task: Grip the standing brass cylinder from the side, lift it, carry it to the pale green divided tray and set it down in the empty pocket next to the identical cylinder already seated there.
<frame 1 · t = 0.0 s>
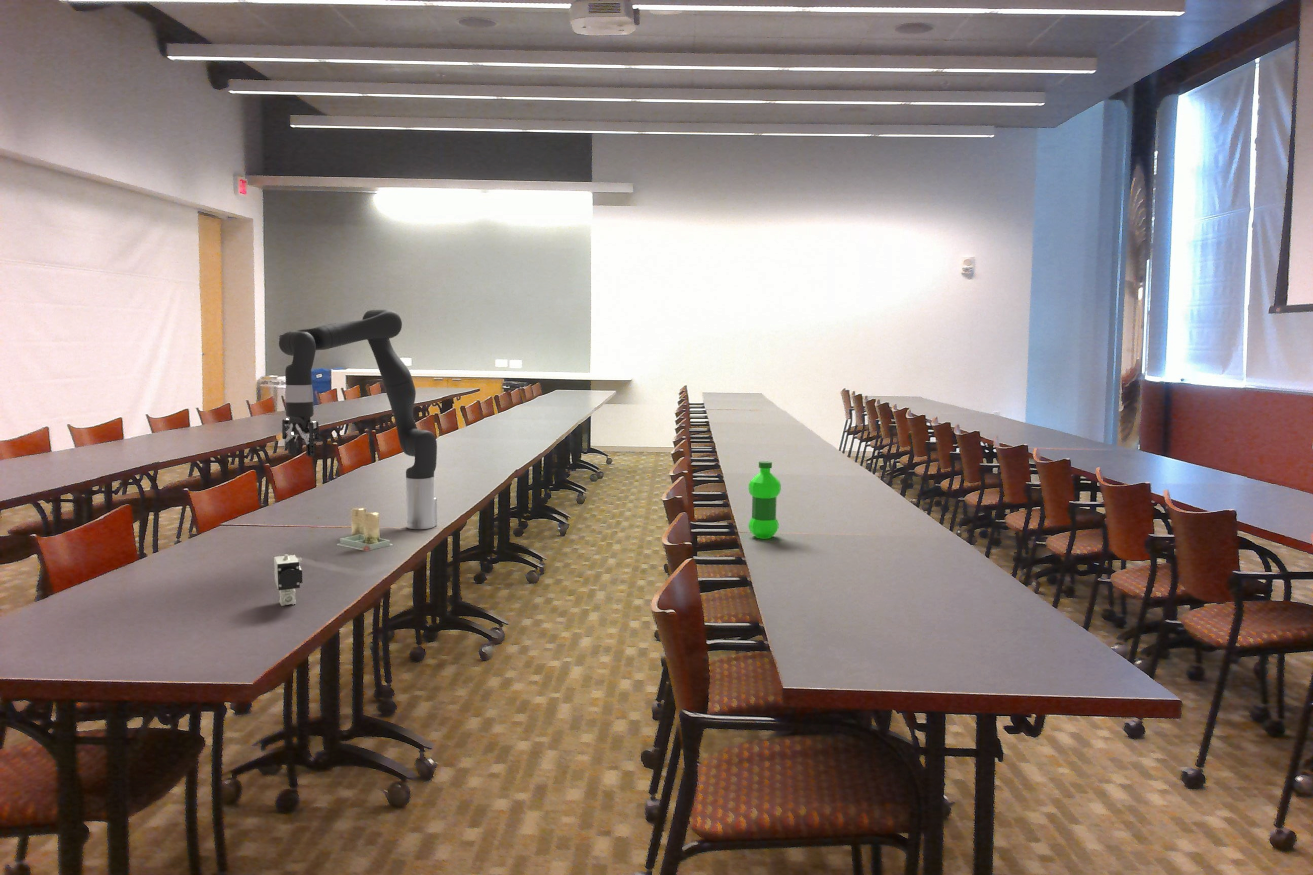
hand: (301, 455, 251), 29 cm above the table, tool pointing down, fingers open, 8 cm apart
pneumatic valve: (289, 604, 206), on the table
billet: (359, 539, 272), on the table
seated billet: (372, 545, 258), point 1 cm above the table, touching pale green divided tray
pale green divided tray: (365, 549, 260), on the table
plastic bottle: (763, 537, 283), on the table
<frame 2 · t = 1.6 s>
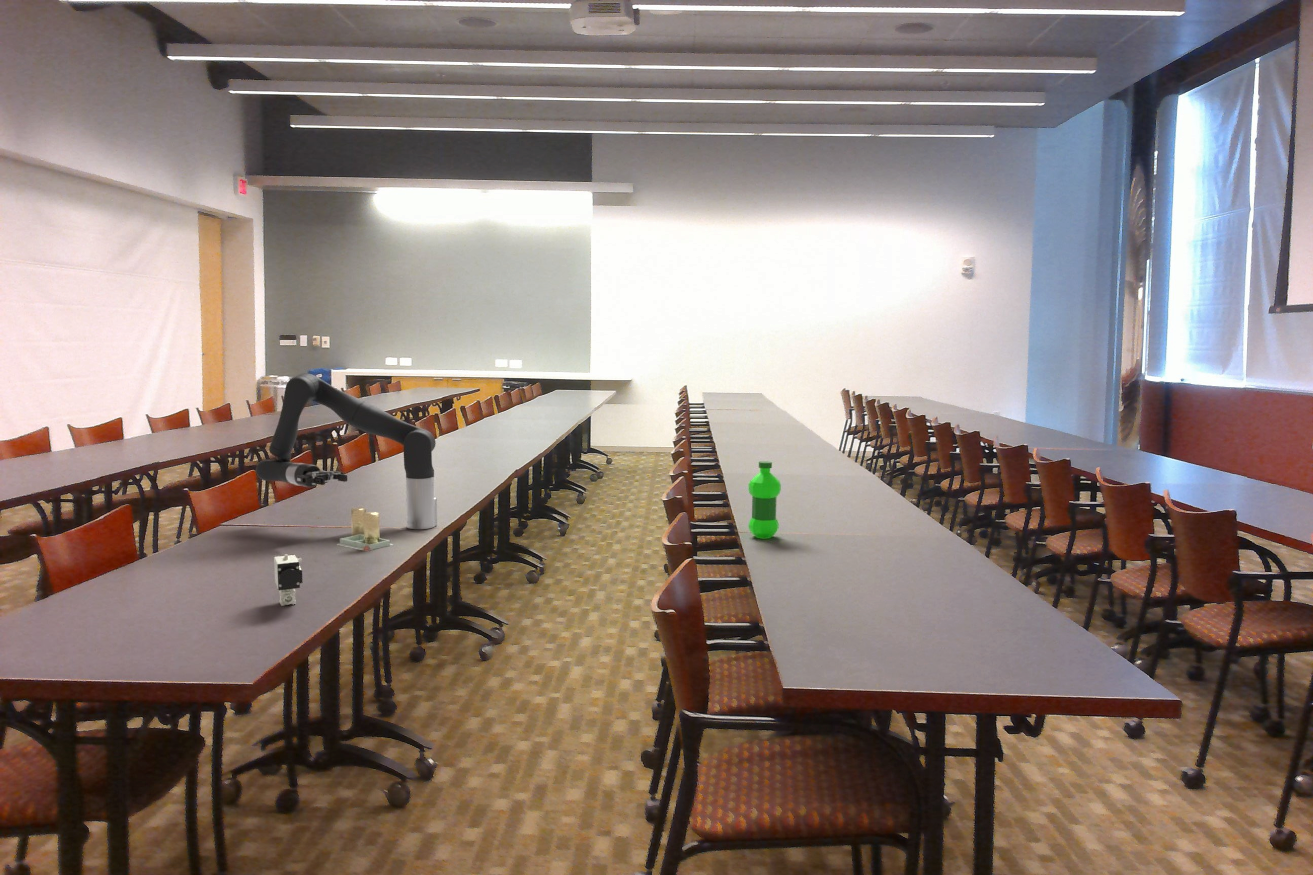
hand: (335, 480, 275), 18 cm above the table, tool horizontal, fingers open, 8 cm apart
nothing on the table moved.
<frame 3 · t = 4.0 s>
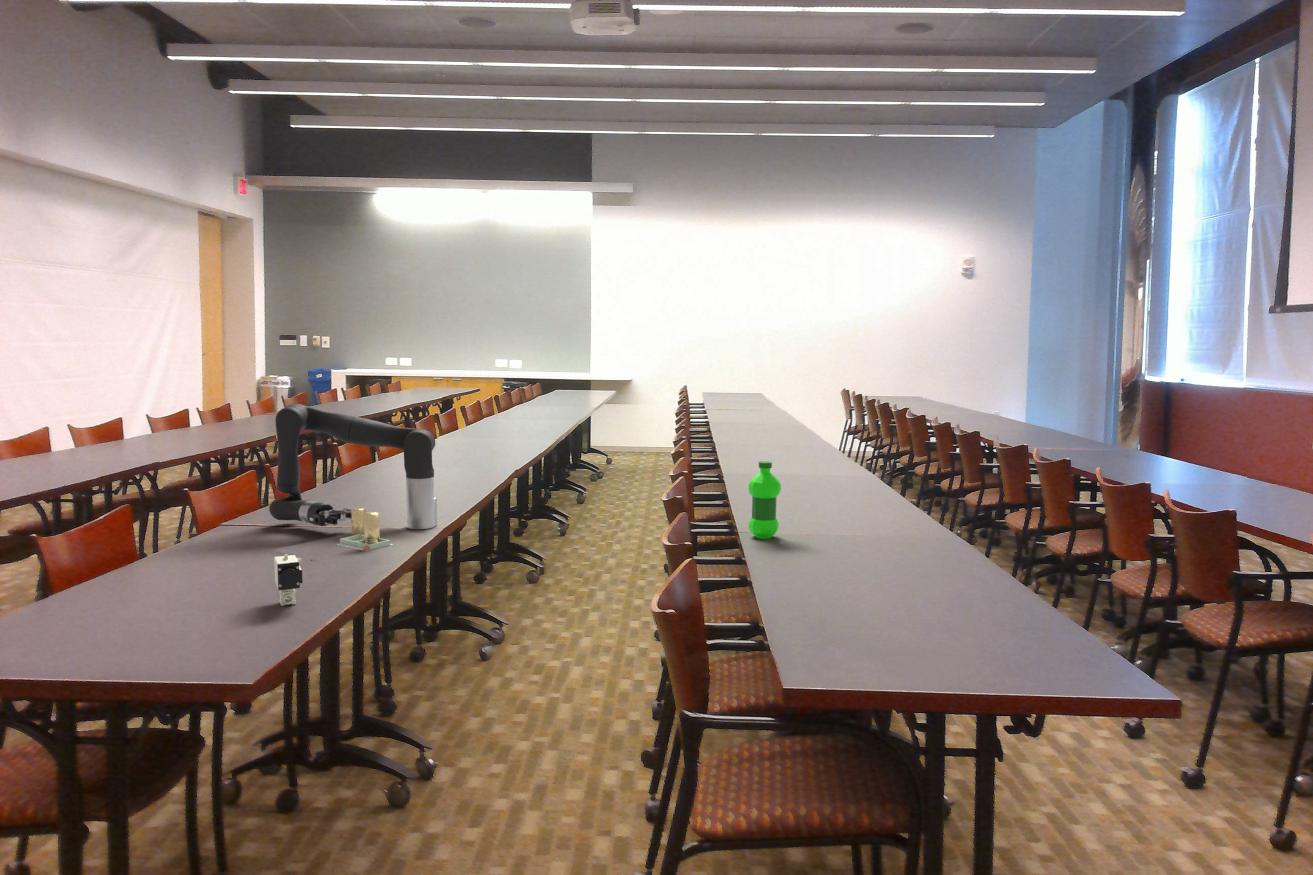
hand: (347, 519, 274), 6 cm above the table, tool horizontal, fingers open, 8 cm apart
nothing on the table moved.
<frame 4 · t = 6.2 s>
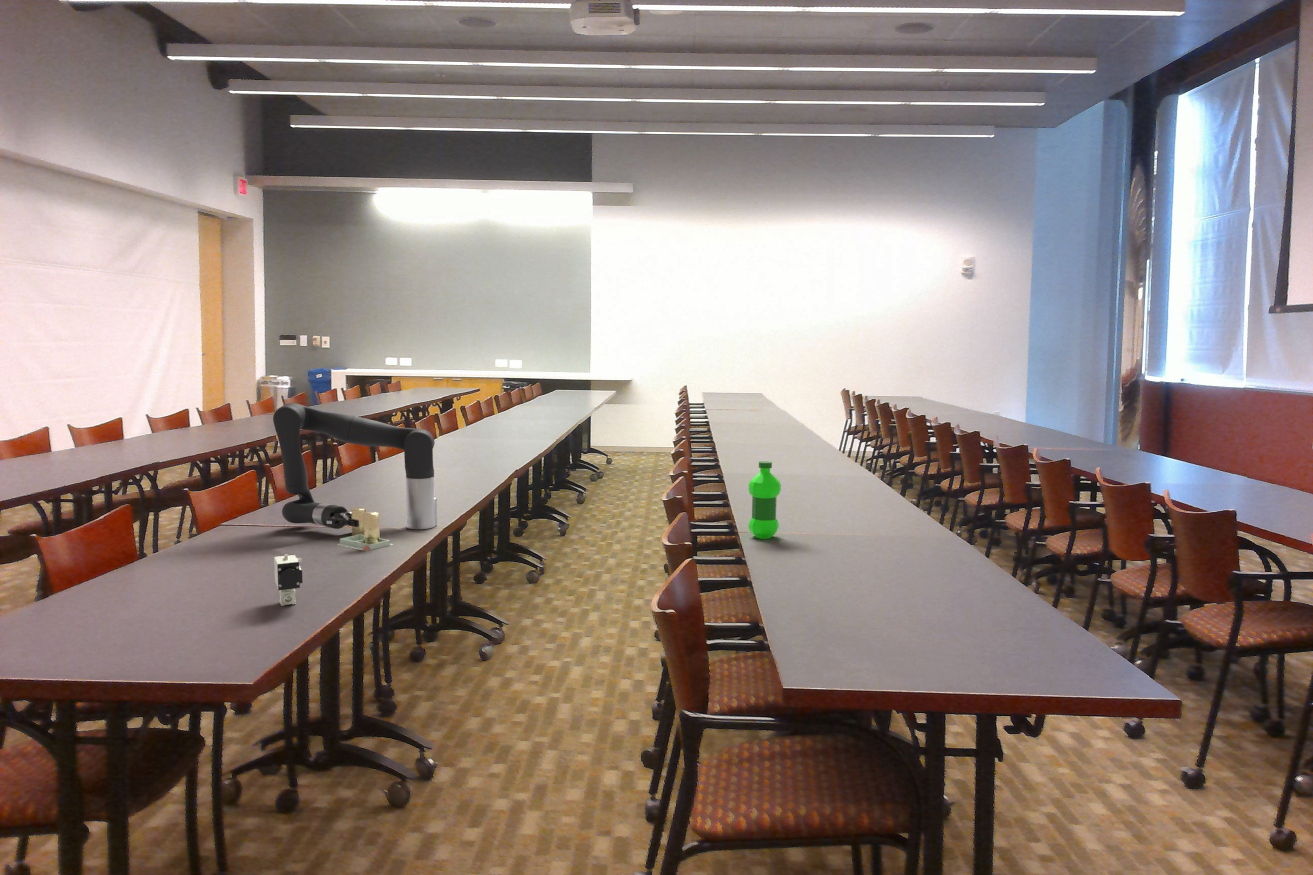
hand: (364, 522, 270), 6 cm above the table, tool horizontal, fingers closed on billet, 4 cm apart
billet: (359, 539, 272), on the table, touching gripper
everything else where it was.
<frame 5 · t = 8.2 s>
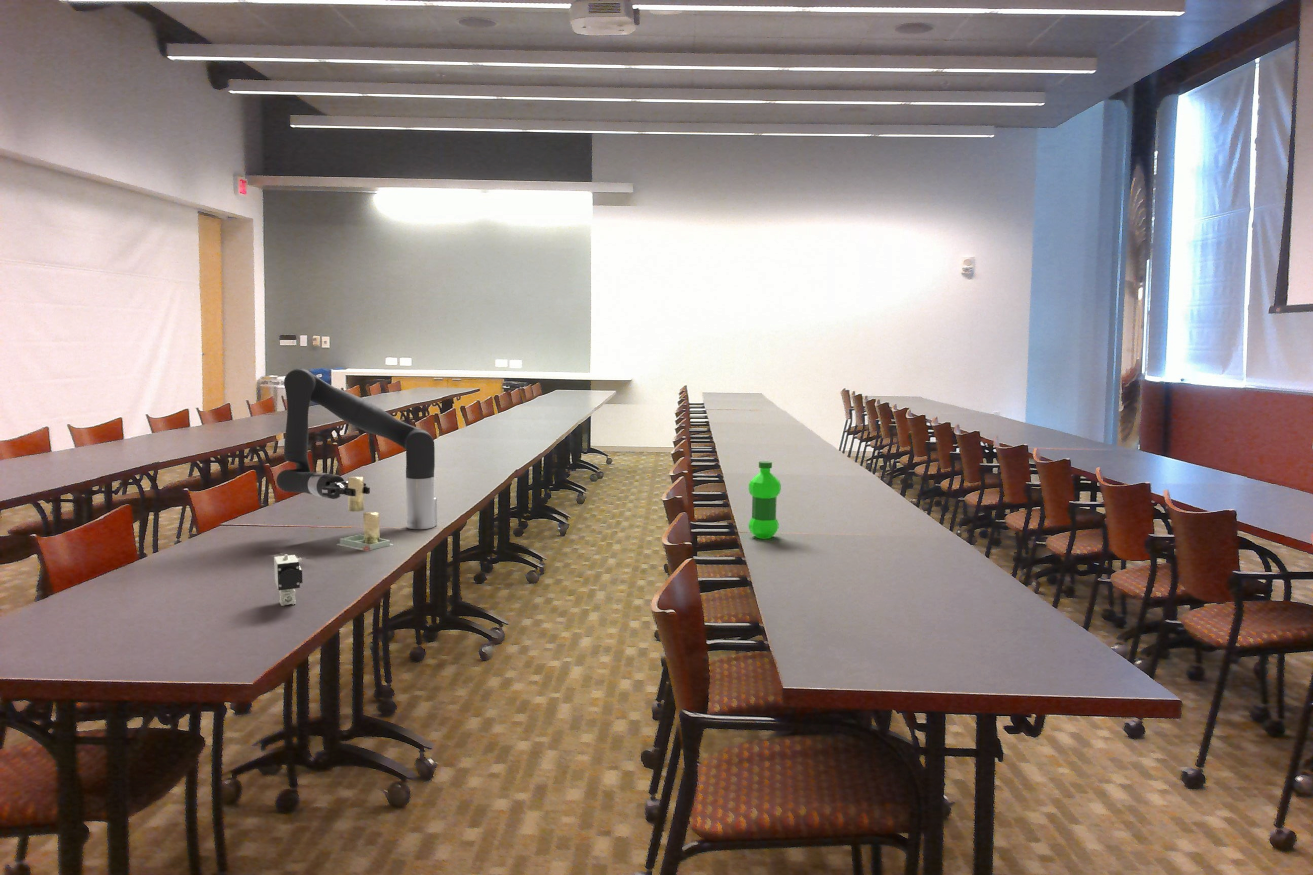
hand: (361, 491, 258), 18 cm above the table, tool horizontal, fingers closed on billet, 4 cm apart
billet: (356, 510, 260), point 12 cm above the table, touching gripper
everything else where it was.
when the fingers open (9 cm above the table, at t = 10.2 s): billet drops 1 cm, resting on pale green divided tray.
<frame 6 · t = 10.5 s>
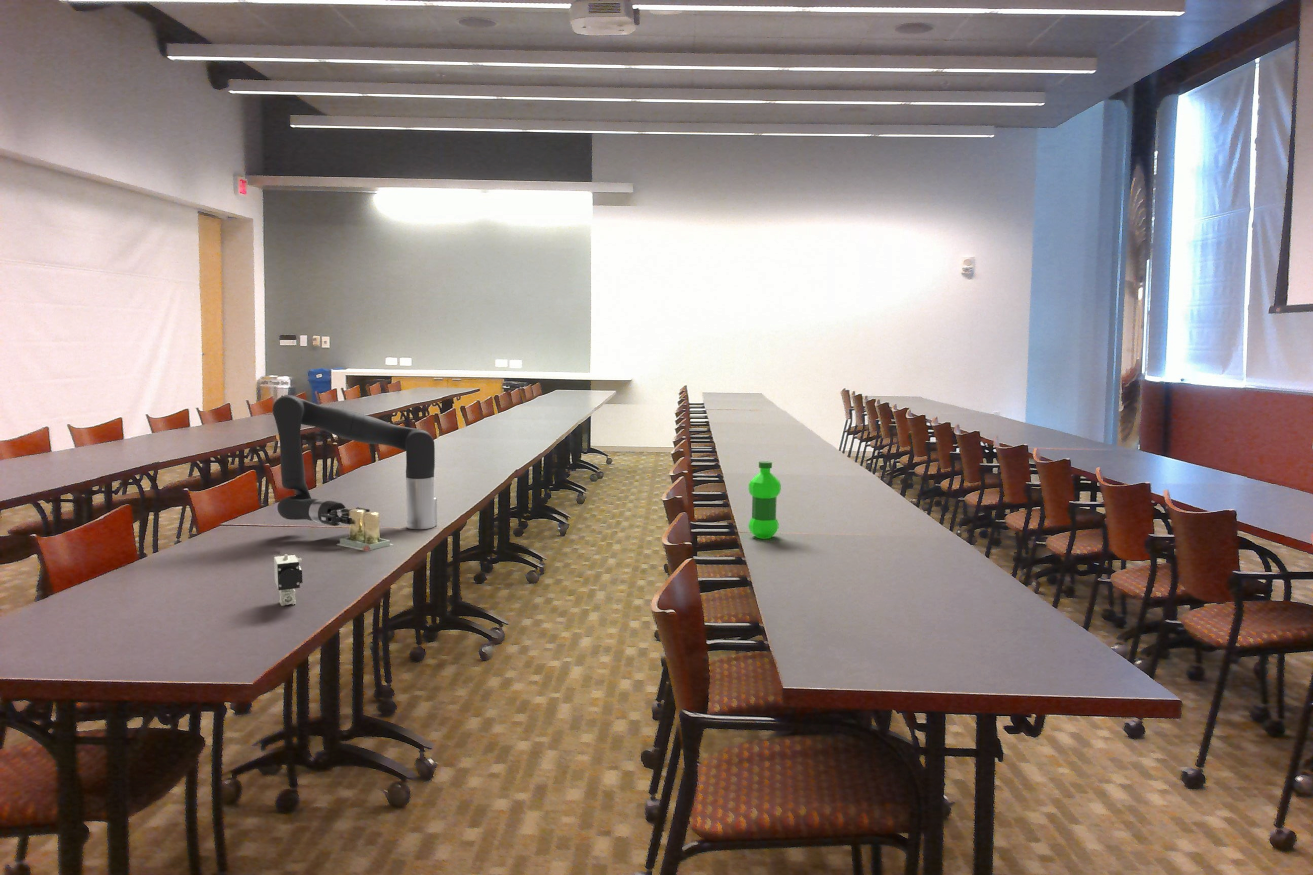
hand: (361, 518, 259), 9 cm above the table, tool horizontal, fingers open, 7 cm apart
billet: (357, 542, 261), point 2 cm above the table, touching pale green divided tray
everything else where it was.
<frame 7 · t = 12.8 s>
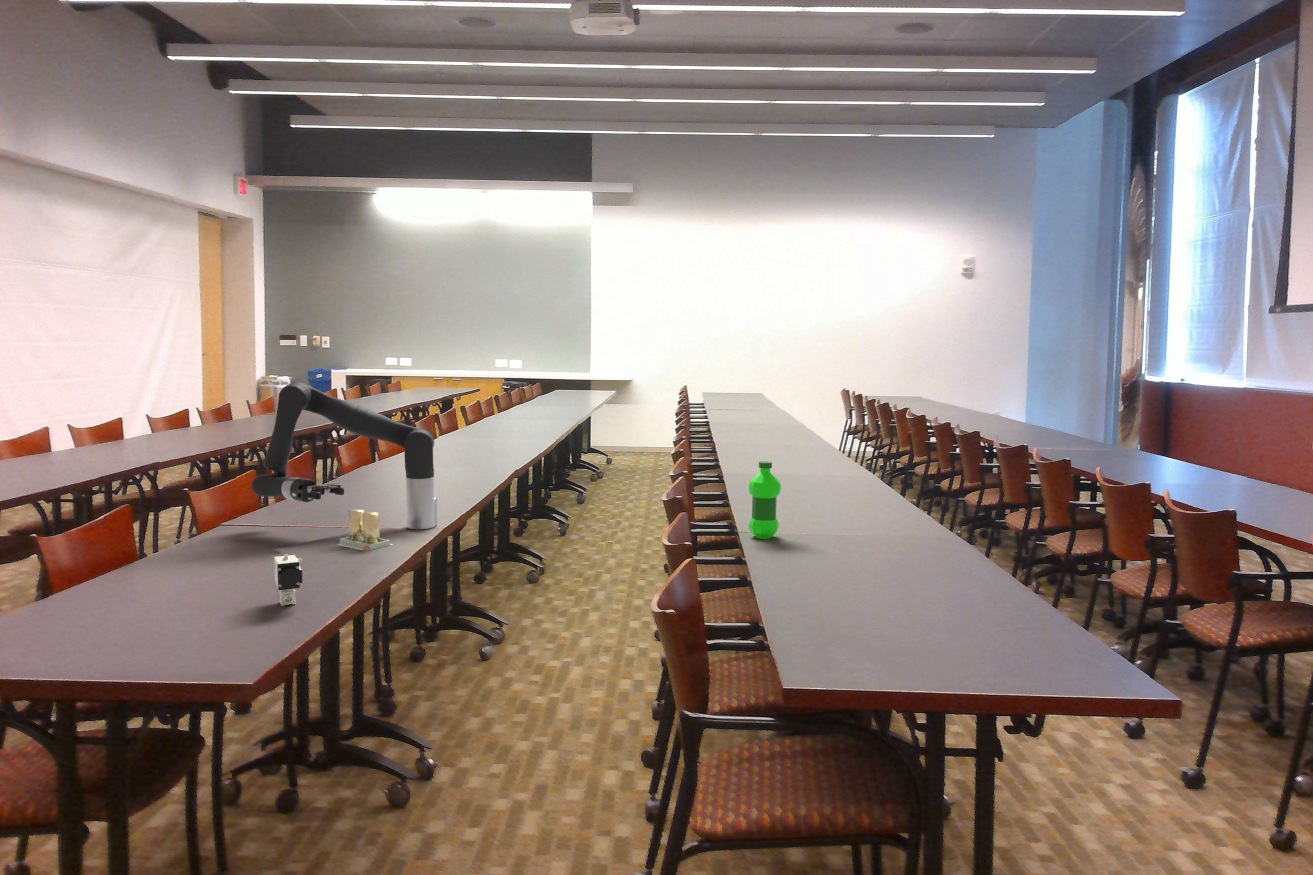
hand: (331, 493, 267), 15 cm above the table, tool horizontal, fingers open, 8 cm apart
nothing on the table moved.
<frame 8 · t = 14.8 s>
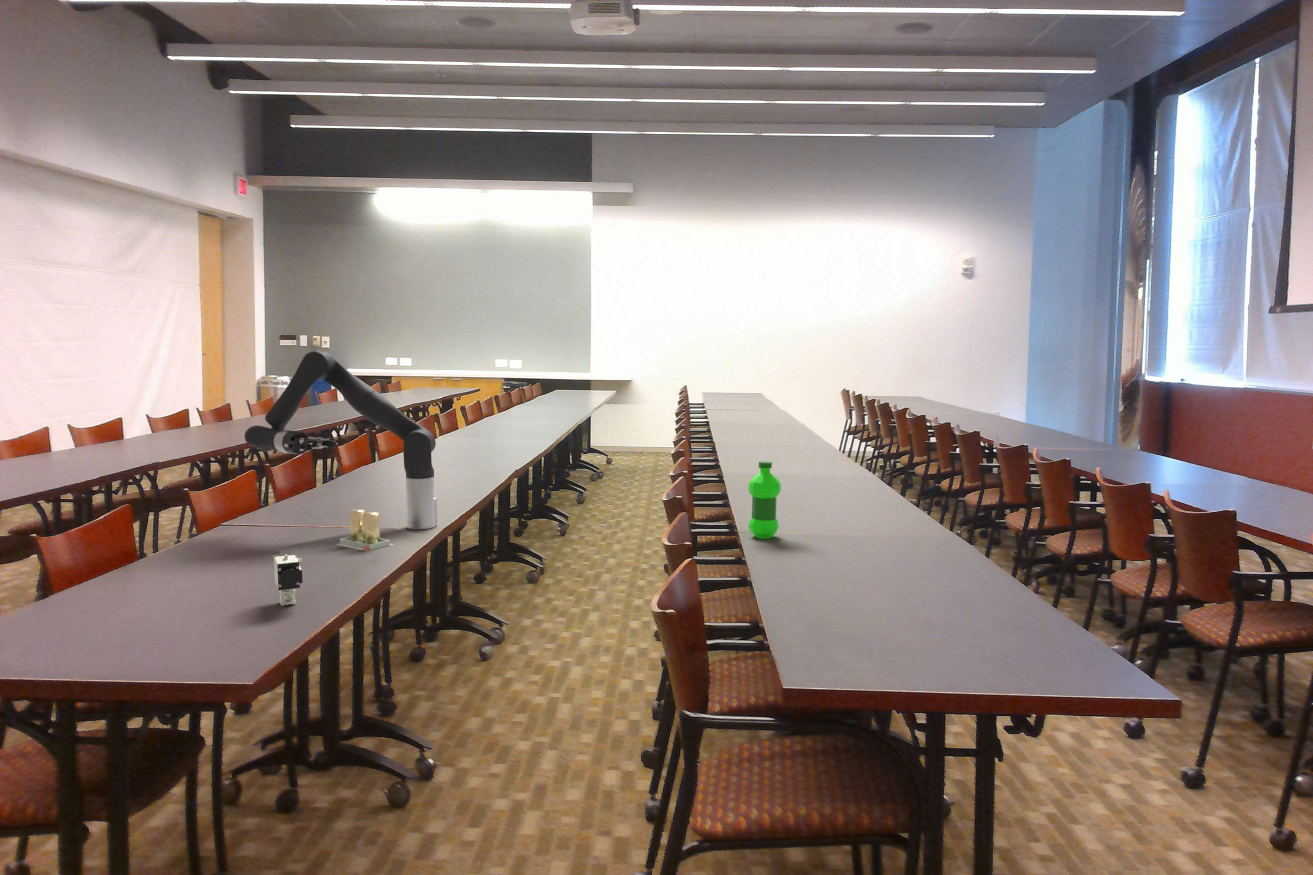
hand: (323, 445, 269), 30 cm above the table, tool horizontal, fingers open, 8 cm apart
nothing on the table moved.
at the end: billet 0.1 cm from the target spot on the pale green divided tray, point 1.5 cm above the pale green divided tray's base; billet tilted 1°; the gripper is holding nothing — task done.
